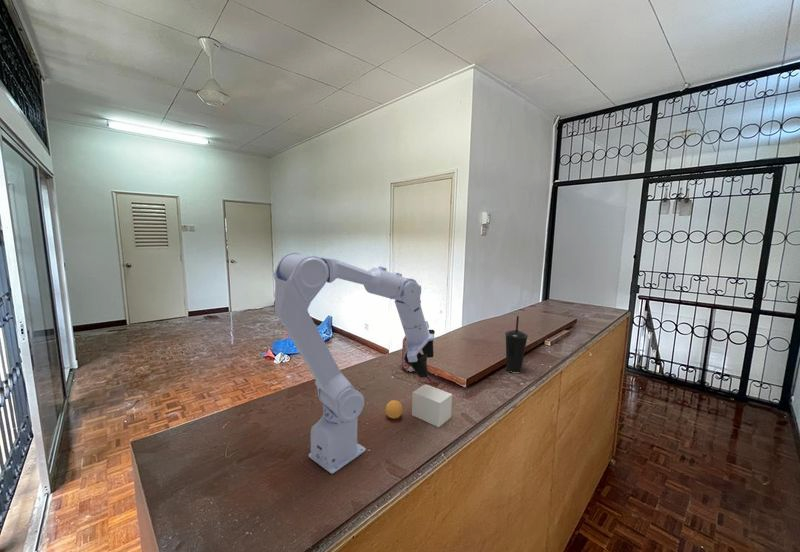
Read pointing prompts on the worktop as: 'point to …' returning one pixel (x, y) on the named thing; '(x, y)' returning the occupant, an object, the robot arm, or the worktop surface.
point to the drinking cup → (515, 348)
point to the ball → (394, 409)
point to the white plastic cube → (431, 405)
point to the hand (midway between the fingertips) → (426, 366)
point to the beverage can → (404, 352)
